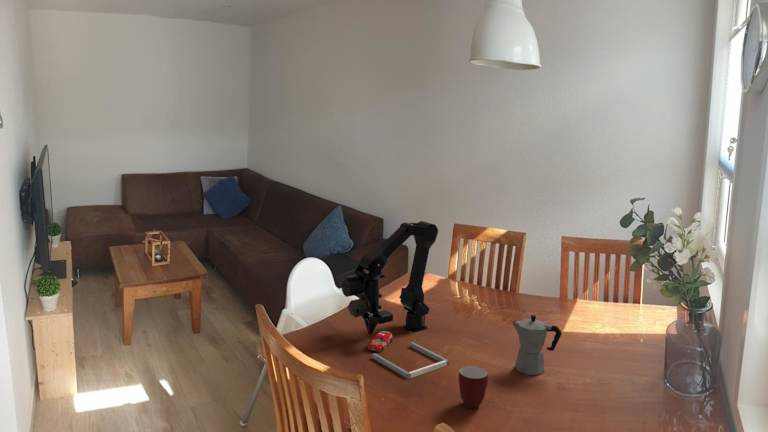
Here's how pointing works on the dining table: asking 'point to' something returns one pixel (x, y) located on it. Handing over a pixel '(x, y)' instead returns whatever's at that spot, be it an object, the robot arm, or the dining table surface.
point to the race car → (380, 341)
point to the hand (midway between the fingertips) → (370, 334)
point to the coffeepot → (533, 344)
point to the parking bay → (417, 372)
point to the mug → (473, 385)
